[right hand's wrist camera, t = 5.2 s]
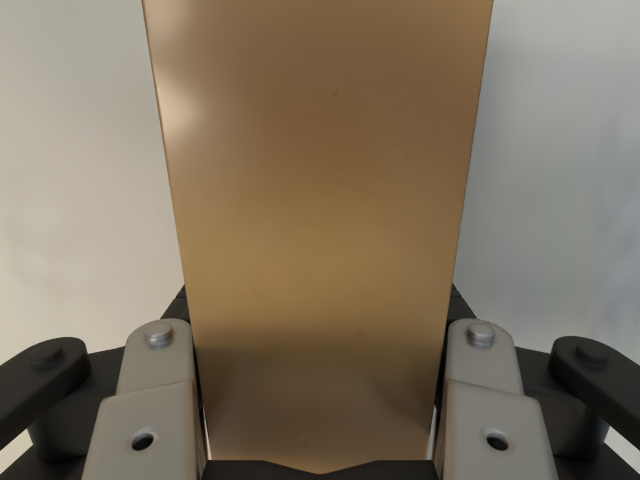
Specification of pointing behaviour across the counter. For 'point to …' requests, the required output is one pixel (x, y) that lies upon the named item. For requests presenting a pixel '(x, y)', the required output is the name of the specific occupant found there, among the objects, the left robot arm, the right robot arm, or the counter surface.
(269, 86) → the post
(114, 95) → the counter surface
